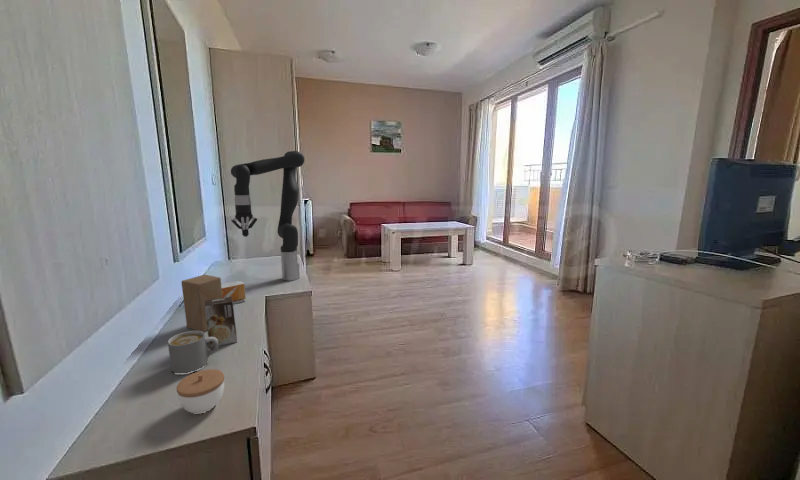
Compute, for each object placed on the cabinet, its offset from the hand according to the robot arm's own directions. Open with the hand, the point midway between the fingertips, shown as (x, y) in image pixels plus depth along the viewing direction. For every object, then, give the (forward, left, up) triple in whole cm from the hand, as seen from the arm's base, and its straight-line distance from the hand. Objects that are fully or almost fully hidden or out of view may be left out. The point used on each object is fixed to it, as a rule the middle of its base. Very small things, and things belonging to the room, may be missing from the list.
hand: (245, 236), depth 175 cm
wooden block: (+26, +38, -29) cm, 55 cm away
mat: (+16, +13, -29) cm, 36 cm away
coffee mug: (+33, +69, -29) cm, 82 cm away
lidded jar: (+34, +93, -29) cm, 103 cm away
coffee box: (+23, +57, -29) cm, 68 cm away
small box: (+6, +14, -24) cm, 29 cm away
